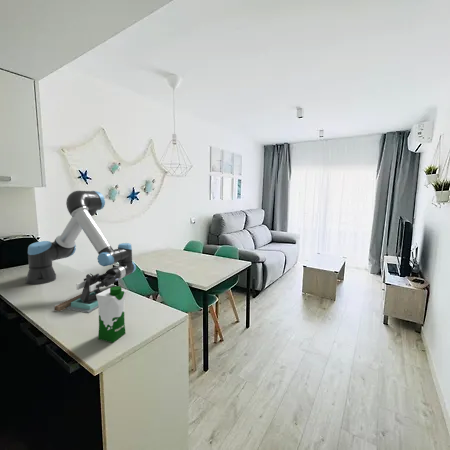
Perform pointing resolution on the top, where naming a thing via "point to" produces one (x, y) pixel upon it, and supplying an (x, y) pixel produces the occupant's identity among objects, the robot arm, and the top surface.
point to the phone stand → (85, 293)
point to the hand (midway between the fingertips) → (83, 287)
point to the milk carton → (111, 314)
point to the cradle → (84, 305)
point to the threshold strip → (66, 303)
